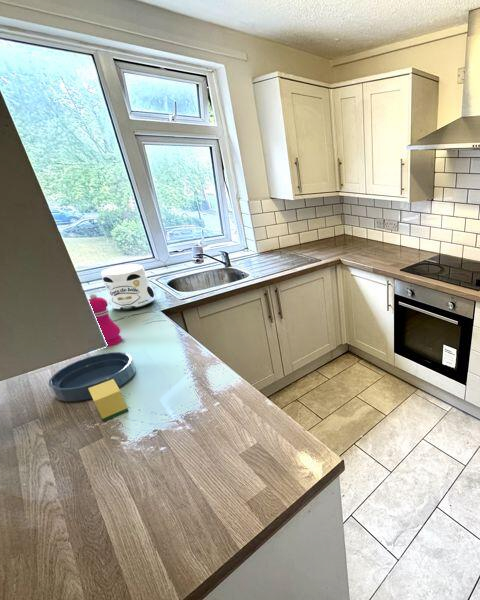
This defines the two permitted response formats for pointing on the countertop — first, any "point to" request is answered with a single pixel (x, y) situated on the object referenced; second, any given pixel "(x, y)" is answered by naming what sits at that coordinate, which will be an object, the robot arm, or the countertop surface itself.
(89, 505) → the countertop surface
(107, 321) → the pepper mill
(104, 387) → the sponge
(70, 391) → the bowl
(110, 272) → the milk container
